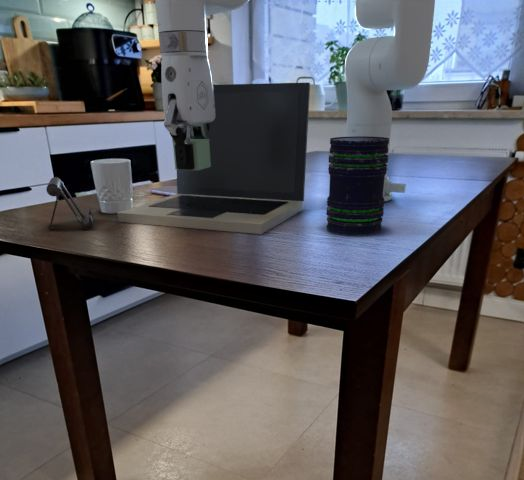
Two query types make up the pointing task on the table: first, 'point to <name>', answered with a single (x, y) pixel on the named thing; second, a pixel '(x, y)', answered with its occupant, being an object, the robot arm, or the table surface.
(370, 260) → the table surface
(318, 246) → the table surface
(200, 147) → the block
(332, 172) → the storage jar
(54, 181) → the tablet stand
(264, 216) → the laptop base
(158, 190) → the mobile phone
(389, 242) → the table surface
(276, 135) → the laptop screen
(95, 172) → the white cup
